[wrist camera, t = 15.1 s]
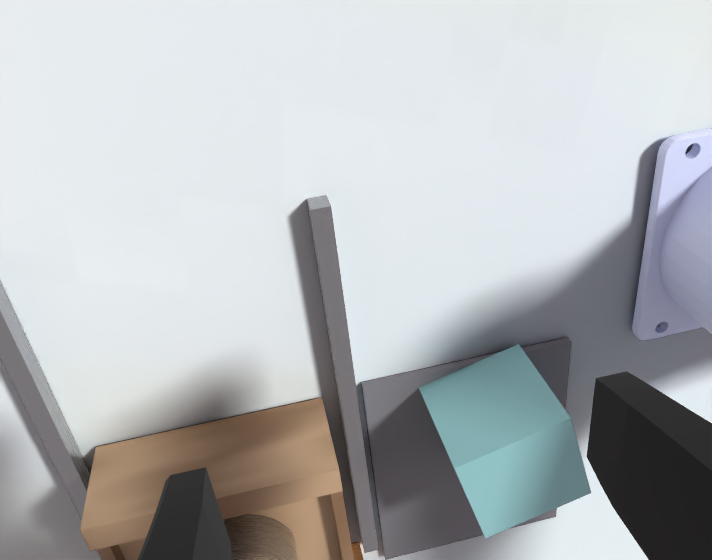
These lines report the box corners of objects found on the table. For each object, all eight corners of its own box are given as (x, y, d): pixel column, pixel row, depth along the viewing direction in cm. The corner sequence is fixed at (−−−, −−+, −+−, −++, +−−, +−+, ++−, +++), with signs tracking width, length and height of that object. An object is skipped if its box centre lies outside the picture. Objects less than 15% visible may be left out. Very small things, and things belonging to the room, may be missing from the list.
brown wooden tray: (321, 397, 23) (339, 470, 21) (345, 530, 27) (362, 607, 24) (95, 447, 23) (79, 530, 20) (153, 577, 26) (148, 663, 24)
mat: (567, 337, 25) (571, 341, 24) (552, 511, 30) (555, 516, 30) (360, 382, 24) (362, 387, 23) (383, 553, 29) (385, 559, 29)
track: (326, 195, 20) (333, 211, 19) (376, 549, 29) (383, 573, 28) (-33, 260, 18) (-47, 282, 17) (137, 609, 27) (134, 637, 26)
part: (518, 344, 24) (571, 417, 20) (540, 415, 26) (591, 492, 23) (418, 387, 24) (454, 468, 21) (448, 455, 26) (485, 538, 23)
